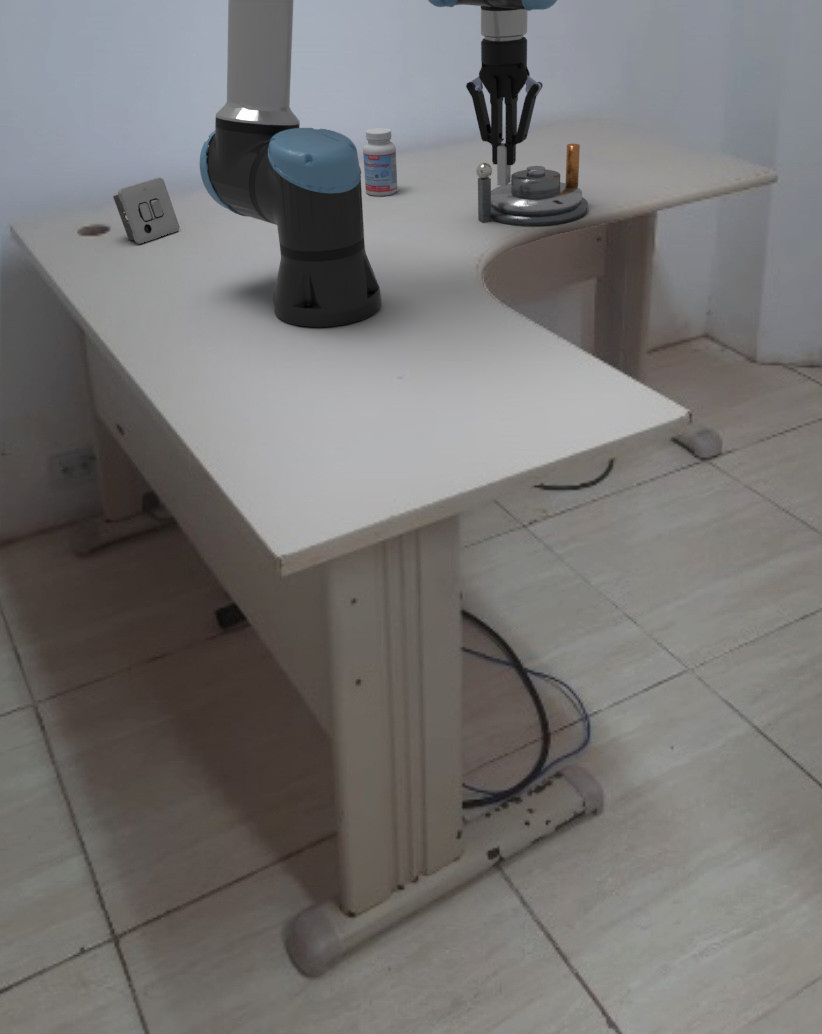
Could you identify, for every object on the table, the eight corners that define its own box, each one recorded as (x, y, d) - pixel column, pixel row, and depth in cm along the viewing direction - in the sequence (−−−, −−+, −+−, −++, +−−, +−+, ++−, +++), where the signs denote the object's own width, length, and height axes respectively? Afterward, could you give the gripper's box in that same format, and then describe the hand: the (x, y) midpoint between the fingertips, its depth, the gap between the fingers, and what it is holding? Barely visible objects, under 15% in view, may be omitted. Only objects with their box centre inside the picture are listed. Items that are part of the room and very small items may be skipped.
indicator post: (495, 221, 181) (494, 163, 176) (481, 224, 180) (481, 165, 175) (487, 217, 183) (487, 160, 178) (474, 220, 182) (473, 162, 177)
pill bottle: (361, 196, 198) (357, 134, 192) (371, 187, 203) (367, 126, 197) (392, 197, 197) (388, 134, 191) (402, 188, 202) (398, 127, 196)
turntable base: (608, 214, 182) (608, 207, 181) (518, 232, 175) (518, 225, 174) (550, 190, 195) (550, 184, 195) (465, 207, 189) (465, 200, 188)
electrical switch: (139, 246, 179) (125, 190, 174) (120, 244, 182) (106, 189, 177) (181, 231, 185) (169, 177, 180) (162, 230, 188) (150, 176, 184)
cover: (569, 194, 182) (570, 169, 180) (527, 202, 179) (528, 177, 177) (542, 183, 189) (543, 159, 186) (502, 191, 186) (502, 167, 183)
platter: (603, 204, 181) (605, 153, 177) (520, 221, 175) (520, 168, 171) (551, 183, 194) (553, 135, 189) (472, 199, 188) (472, 149, 183)
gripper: (549, 33, 173) (546, 180, 185) (474, 32, 178) (476, 175, 190) (535, 41, 167) (532, 191, 180) (458, 39, 172) (461, 186, 184)
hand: (503, 183), depth 185 cm, fingers closed
